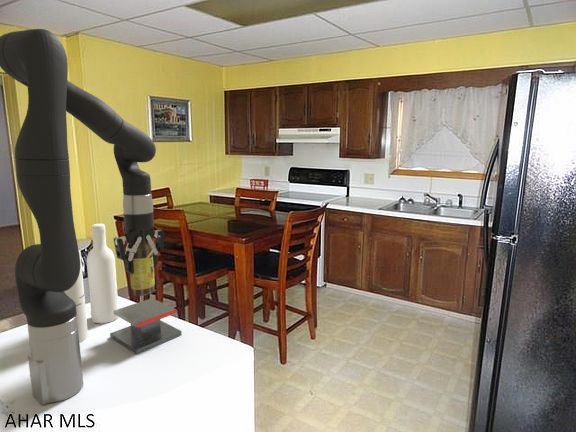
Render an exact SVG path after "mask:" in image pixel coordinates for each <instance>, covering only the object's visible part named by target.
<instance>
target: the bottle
mask: <svg viewBox="0 0 576 432" xmlns="http://www.w3.org/2000/svg"><path fill="white" fill-rule="evenodd" d="M90 230H91V236H92V247H93V248H91V250H90V251H88V253H87V256H86V266H87V267H86V268H87V269H86V270H87V280H88V291H89V304H90V315H91V321H92V322H93V323H95V324H108V323H111V322H114V321H116V320H117V319H119V317H118V316H116V315H115V314H114V310H117V309H120V307H119V298H118V297H119V296H118V286H117V285H118V283H117V271H116V269H117V268H116V257H115V255H114V252H113V250H112V249H110V248H109V247H108V246H107V237H106V236H107V235H106V234H107V233H106V230H107V229H106V225H105V224H104V223H95V224H92V225H91V229H90Z"/></svg>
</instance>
